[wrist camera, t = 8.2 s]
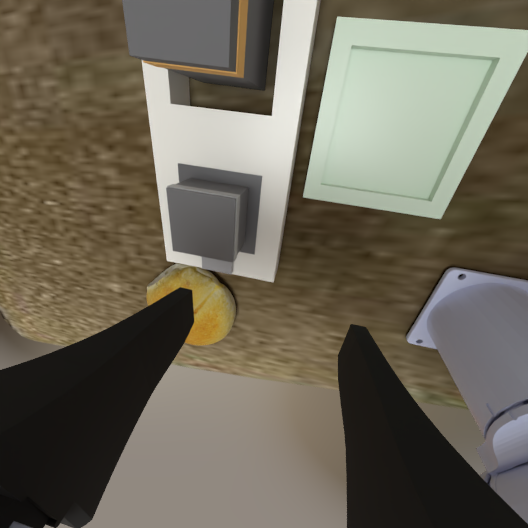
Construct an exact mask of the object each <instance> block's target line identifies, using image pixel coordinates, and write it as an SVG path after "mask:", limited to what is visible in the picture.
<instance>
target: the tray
mask: <svg viewBox="0 0 528 528" xmlns="http://www.w3.org/2000/svg"><path fill="white" fill-rule="evenodd" d="M527 52H528V30H517V29H503V28H489V27H475V26H461V25H447V24H433V23H419V22H405V21H391V20H377V19H363V18H349V17H337V21H336V26H335V32H334V37H333V42H332V47H331V52H330V58H329V63H328V68H327V73H326V79H325V84H324V89H323V94H322V100H321V105H320V110H319V115H318V120H317V126H316V131H315V136H314V141H313V147H312V152H311V157H310V162H309V168H308V173H307V178H306V183H305V189H304V194H303V197H304V198H310V199H317V200H323V201H329V202H335V203H342V204H348V205H354V206H361V207H367V208H373V209H379V210H386V211H392V212H398V213H405V214H411V215H417V216H423V217H430V218H436V219H441V217H442V216H443V214H444V212H445V210H446V208H447V206H448V204H449V202H450V200H451V198H452V196H453V194H454V192H455V191H456V189H457V187H458V185H459V183H460V181H461V179H462V177H463V175H464V173H465V171H466V169H467V167H468V166H469V164H470V162H471V160H472V158H473V156H474V154H475V152H476V150H477V148H478V146H479V144H480V142H481V141H482V139H483V137H484V135H485V133H486V131H487V129H488V127H489V125H490V123H491V121H492V119H493V117H494V116H495V114H496V112H497V110H498V108H499V106H500V104H501V102H502V100H503V98H504V96H505V94H506V92H507V91H508V89H509V87H510V85H511V83H512V81H513V79H514V77H515V75H516V73H517V71H518V69H519V67H520V66H521V64H522V62H523V60H524V58H525V56H526V54H527Z"/></svg>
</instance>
